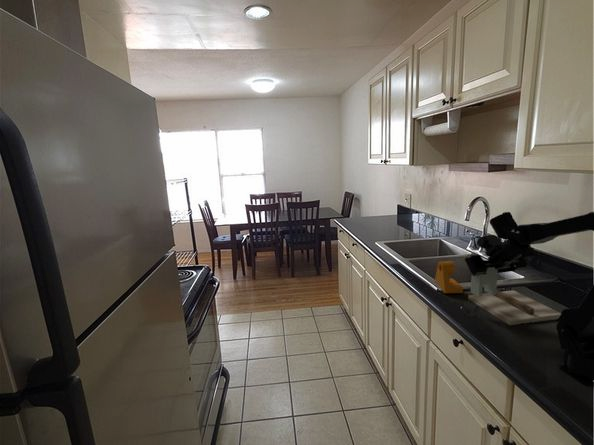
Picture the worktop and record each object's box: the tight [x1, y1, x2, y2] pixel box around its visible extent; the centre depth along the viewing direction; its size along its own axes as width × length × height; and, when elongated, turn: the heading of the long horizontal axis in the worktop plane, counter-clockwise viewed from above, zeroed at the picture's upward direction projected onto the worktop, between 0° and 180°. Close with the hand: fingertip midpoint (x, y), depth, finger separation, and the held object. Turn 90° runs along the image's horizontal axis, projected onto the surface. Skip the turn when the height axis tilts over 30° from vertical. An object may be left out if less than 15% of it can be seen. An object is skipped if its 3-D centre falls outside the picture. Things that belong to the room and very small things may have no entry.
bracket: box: [434, 260, 464, 294], centre depth 131 cm, size 11×7×12 cm, turn 176°
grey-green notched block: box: [470, 267, 499, 297], centre depth 110 cm, size 4×6×10 cm, turn 100°
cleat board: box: [467, 289, 562, 326], centre depth 114 cm, size 20×19×4 cm
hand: (481, 273), depth 111 cm, fingers closed on grey-green notched block, 6 cm apart
